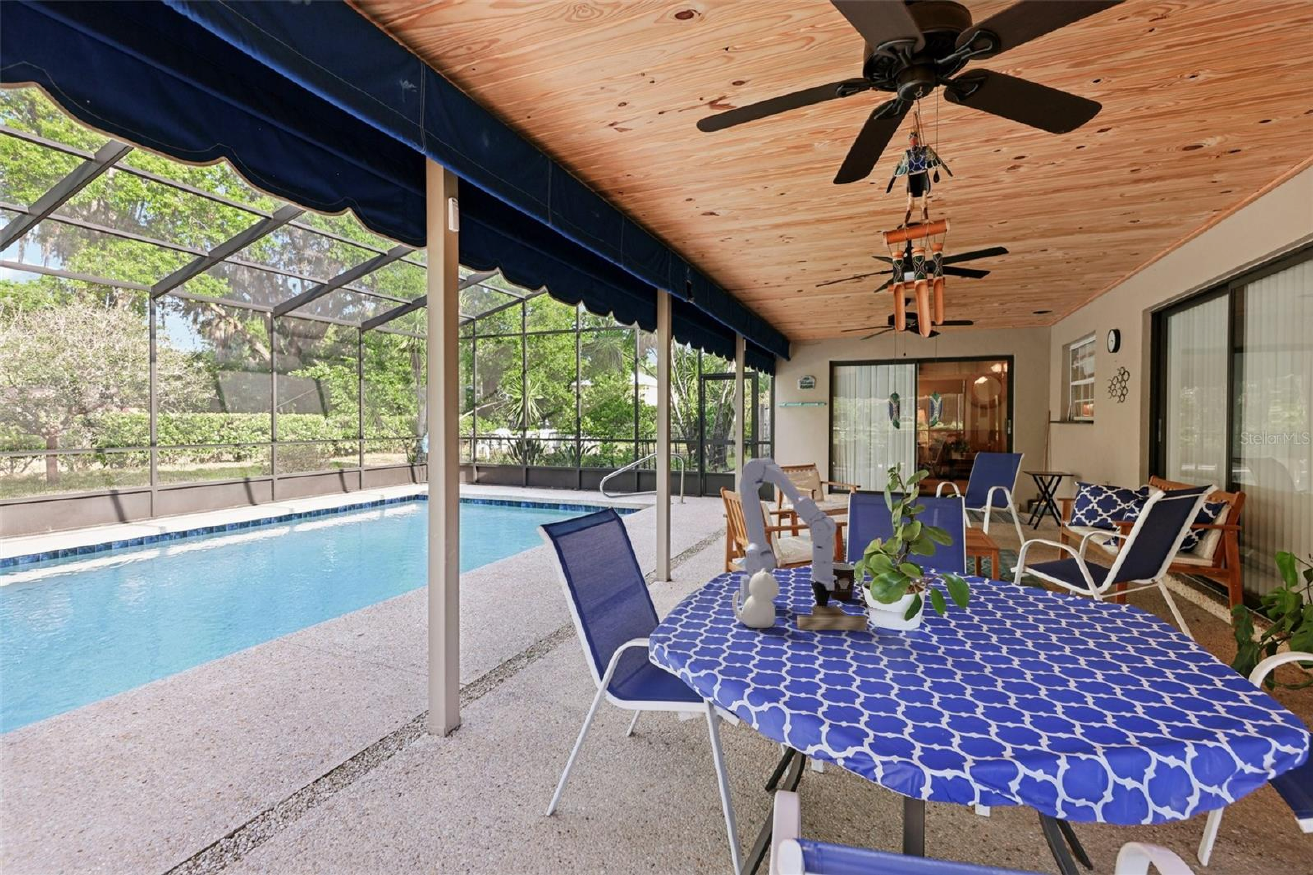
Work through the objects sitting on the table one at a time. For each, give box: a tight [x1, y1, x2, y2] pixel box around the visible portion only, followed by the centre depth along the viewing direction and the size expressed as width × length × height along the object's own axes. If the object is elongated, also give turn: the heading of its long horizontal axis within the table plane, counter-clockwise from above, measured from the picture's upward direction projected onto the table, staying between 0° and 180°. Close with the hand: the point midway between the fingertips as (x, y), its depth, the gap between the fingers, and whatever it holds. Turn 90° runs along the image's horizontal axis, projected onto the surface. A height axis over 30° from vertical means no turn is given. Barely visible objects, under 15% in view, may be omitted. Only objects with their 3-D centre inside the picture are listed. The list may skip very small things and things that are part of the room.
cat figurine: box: [731, 568, 781, 629], centre depth 158 cm, size 9×12×15 cm
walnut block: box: [811, 605, 846, 616], centre depth 160 cm, size 7×6×4 cm
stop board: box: [796, 614, 868, 631], centre depth 156 cm, size 18×2×3 cm, turn 92°
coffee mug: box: [829, 562, 856, 602], centre depth 185 cm, size 12×9×10 cm
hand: (821, 608), depth 165 cm, fingers closed
